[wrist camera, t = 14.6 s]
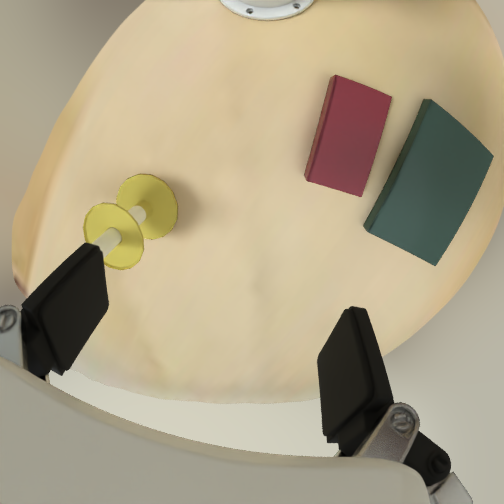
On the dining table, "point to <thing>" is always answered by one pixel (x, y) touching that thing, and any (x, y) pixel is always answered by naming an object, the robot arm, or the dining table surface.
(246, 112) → the dining table surface
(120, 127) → the dining table surface
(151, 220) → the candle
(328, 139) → the burgundy book
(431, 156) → the green book
